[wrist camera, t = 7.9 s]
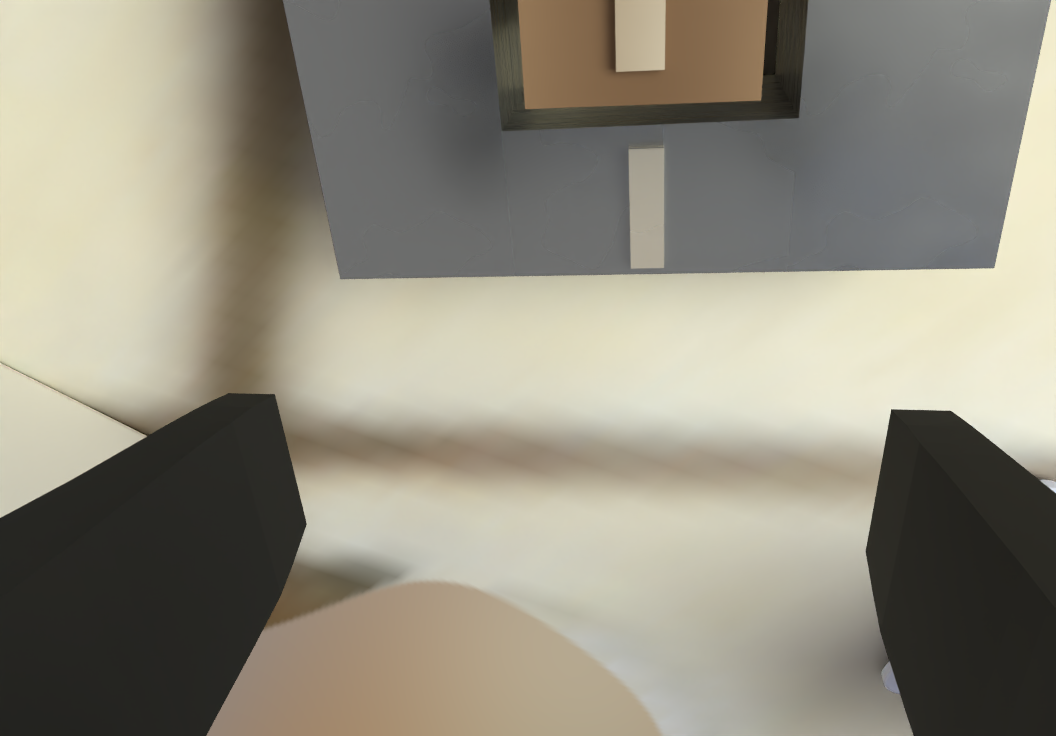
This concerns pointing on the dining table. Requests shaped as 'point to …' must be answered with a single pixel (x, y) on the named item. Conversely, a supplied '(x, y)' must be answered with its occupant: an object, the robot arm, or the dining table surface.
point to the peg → (641, 51)
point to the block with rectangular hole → (667, 145)
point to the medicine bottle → (49, 439)
